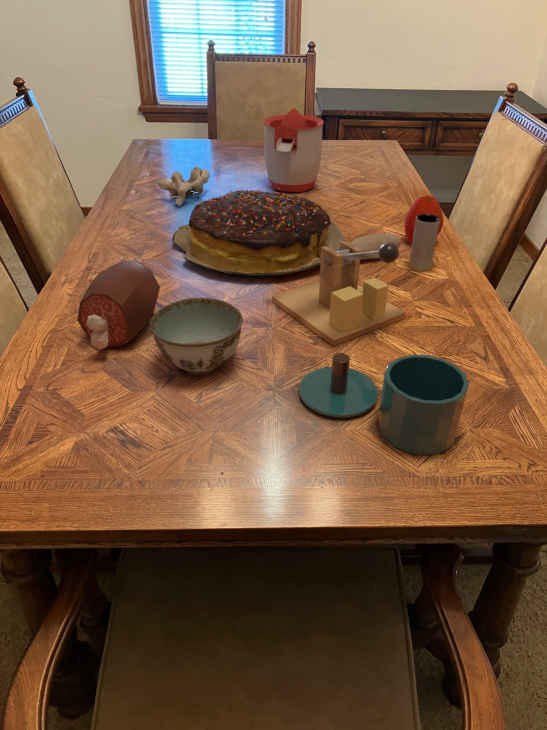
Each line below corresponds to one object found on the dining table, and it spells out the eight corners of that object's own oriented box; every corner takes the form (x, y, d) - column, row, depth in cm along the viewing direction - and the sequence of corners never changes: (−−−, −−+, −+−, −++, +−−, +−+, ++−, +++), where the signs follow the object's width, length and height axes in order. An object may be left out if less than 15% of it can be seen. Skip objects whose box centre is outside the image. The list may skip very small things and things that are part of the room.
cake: (301, 208, 145) (301, 167, 140) (377, 263, 117) (381, 216, 111) (159, 232, 134) (153, 189, 128) (205, 299, 106) (200, 249, 100)
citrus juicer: (254, 194, 152) (252, 114, 140) (273, 175, 165) (273, 100, 154) (311, 200, 148) (314, 118, 137) (326, 180, 162) (330, 104, 150)
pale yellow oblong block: (360, 325, 96) (363, 294, 92) (341, 332, 94) (344, 300, 91) (347, 317, 98) (350, 285, 95) (328, 323, 96) (331, 292, 93)
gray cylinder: (434, 264, 118) (443, 216, 112) (426, 273, 114) (435, 224, 108) (413, 259, 120) (420, 212, 114) (405, 267, 116) (412, 219, 110)
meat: (135, 365, 88) (125, 308, 82) (65, 358, 90) (51, 301, 84) (175, 303, 104) (169, 251, 99) (115, 297, 106) (106, 246, 100)
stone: (338, 245, 119) (382, 218, 122) (349, 272, 121) (392, 245, 124) (353, 246, 114) (399, 218, 117) (364, 274, 116) (408, 246, 119)
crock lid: (386, 384, 85) (392, 347, 81) (362, 430, 77) (367, 391, 73) (316, 365, 89) (318, 328, 85) (286, 406, 81) (287, 368, 77)
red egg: (433, 253, 122) (441, 204, 116) (396, 245, 126) (402, 197, 119) (443, 239, 128) (452, 192, 122) (408, 232, 131) (414, 185, 125)
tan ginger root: (162, 205, 149) (154, 173, 145) (202, 189, 156) (196, 159, 152) (182, 208, 143) (174, 175, 139) (224, 191, 151) (217, 160, 146)
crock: (462, 416, 79) (475, 366, 74) (446, 464, 71) (459, 412, 66) (390, 396, 82) (398, 347, 77) (368, 440, 75) (374, 389, 70)
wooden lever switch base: (404, 318, 100) (414, 256, 93) (333, 346, 93) (338, 281, 86) (339, 279, 112) (343, 221, 105) (271, 301, 105) (271, 241, 98)
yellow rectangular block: (384, 316, 98) (388, 285, 95) (373, 320, 97) (377, 289, 94) (371, 308, 101) (374, 277, 97) (360, 312, 100) (363, 281, 96)
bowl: (247, 340, 94) (246, 298, 90) (240, 391, 83) (238, 345, 79) (165, 339, 95) (159, 296, 90) (147, 389, 84) (140, 343, 79)
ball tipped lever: (404, 259, 86) (401, 240, 86) (389, 264, 85) (386, 244, 84) (344, 265, 99) (340, 248, 98) (330, 269, 98) (326, 252, 97)
